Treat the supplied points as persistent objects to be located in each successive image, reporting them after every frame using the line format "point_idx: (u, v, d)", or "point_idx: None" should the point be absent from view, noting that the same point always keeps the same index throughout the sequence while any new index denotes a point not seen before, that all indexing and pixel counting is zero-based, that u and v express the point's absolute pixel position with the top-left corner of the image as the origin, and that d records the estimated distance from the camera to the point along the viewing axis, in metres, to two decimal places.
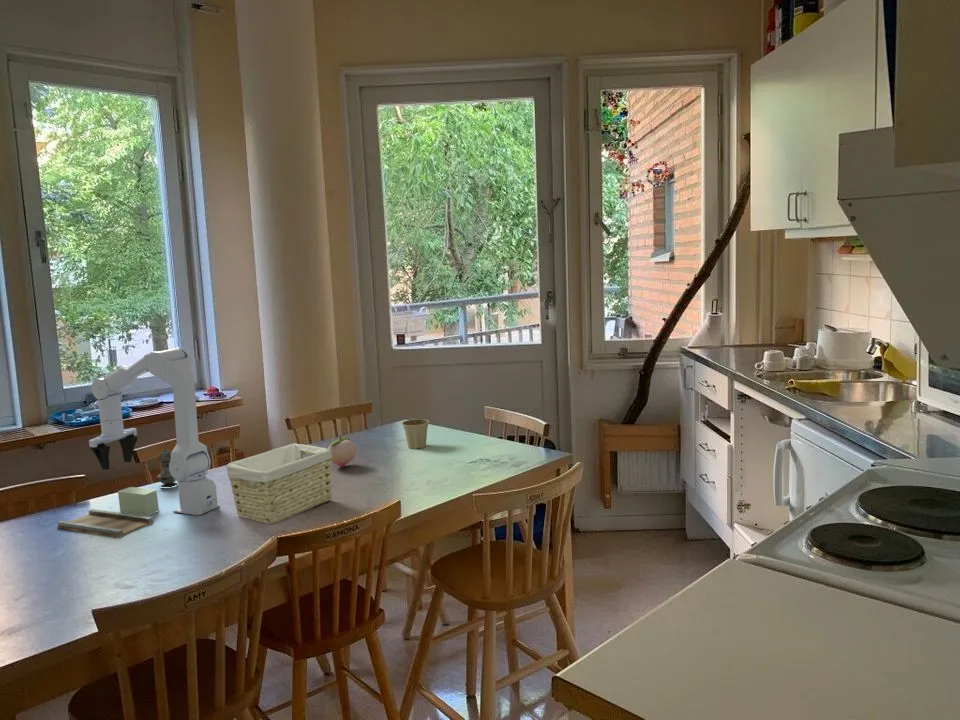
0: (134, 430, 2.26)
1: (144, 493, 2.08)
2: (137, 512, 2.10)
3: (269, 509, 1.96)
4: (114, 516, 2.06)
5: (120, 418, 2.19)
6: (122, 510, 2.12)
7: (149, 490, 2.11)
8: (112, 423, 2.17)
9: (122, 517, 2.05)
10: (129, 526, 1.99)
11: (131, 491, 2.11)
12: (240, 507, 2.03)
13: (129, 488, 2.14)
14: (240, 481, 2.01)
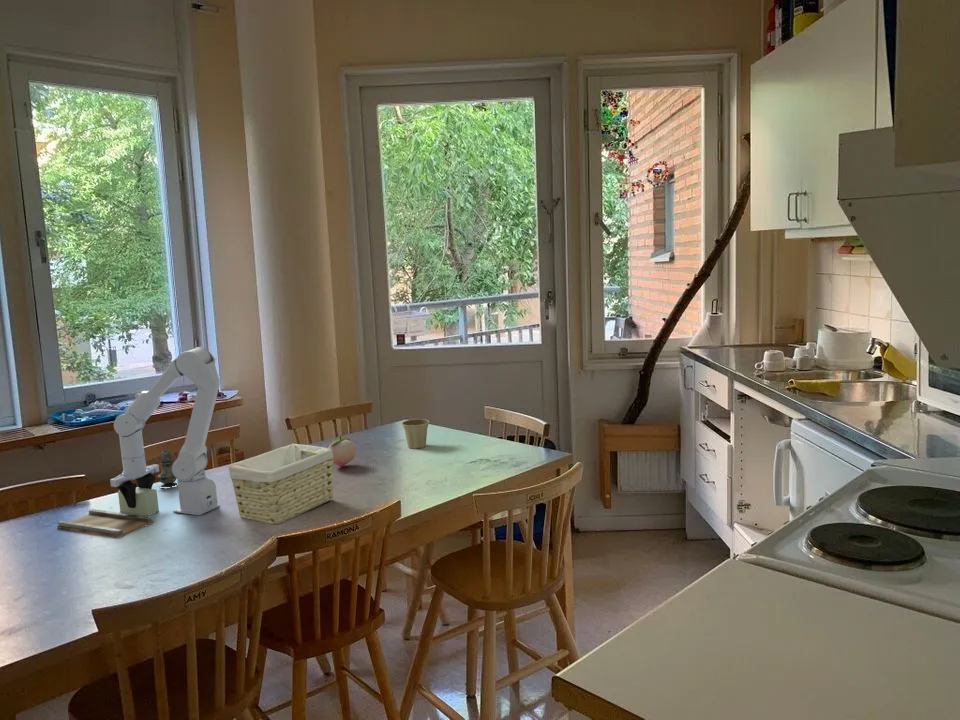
0: (156, 467, 2.16)
1: (144, 492, 2.08)
2: (137, 511, 2.10)
3: (274, 509, 1.95)
4: (114, 516, 2.06)
5: (142, 455, 2.09)
6: (122, 509, 2.12)
7: (149, 489, 2.11)
8: (134, 461, 2.07)
9: (122, 517, 2.05)
10: (129, 526, 1.99)
11: None
12: (243, 508, 2.02)
13: None
14: (243, 482, 2.00)
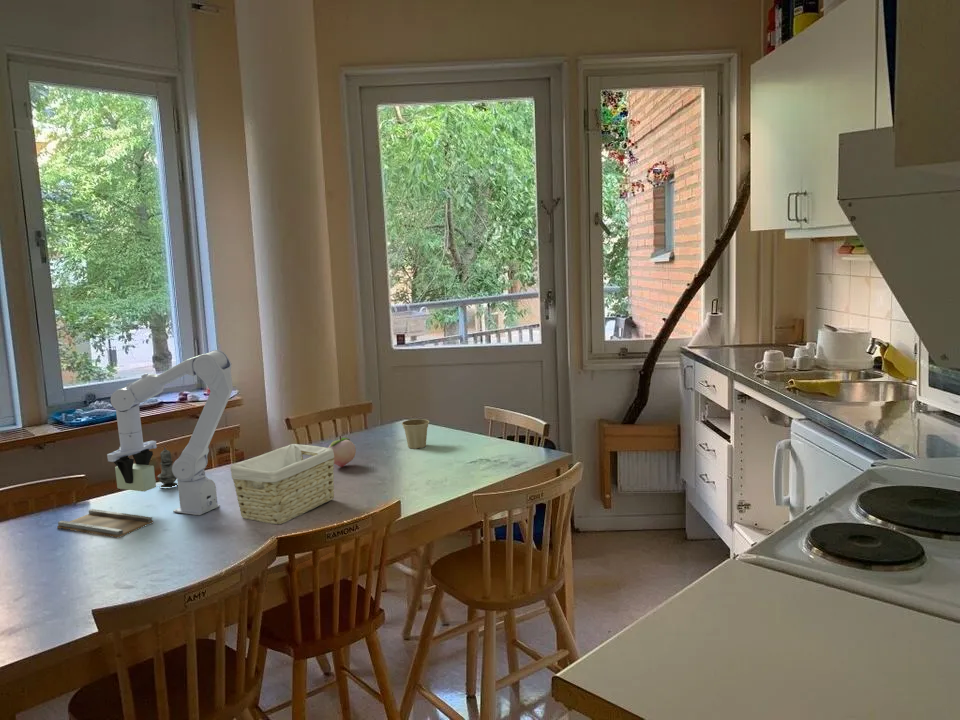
0: (154, 443, 2.15)
1: (141, 468, 2.08)
2: (134, 488, 2.09)
3: (277, 509, 1.95)
4: (114, 516, 2.06)
5: (139, 431, 2.08)
6: (119, 486, 2.11)
7: (146, 466, 2.10)
8: (131, 436, 2.06)
9: (122, 517, 2.05)
10: (129, 526, 1.99)
11: None
12: (244, 509, 2.02)
13: None
14: (245, 482, 2.00)
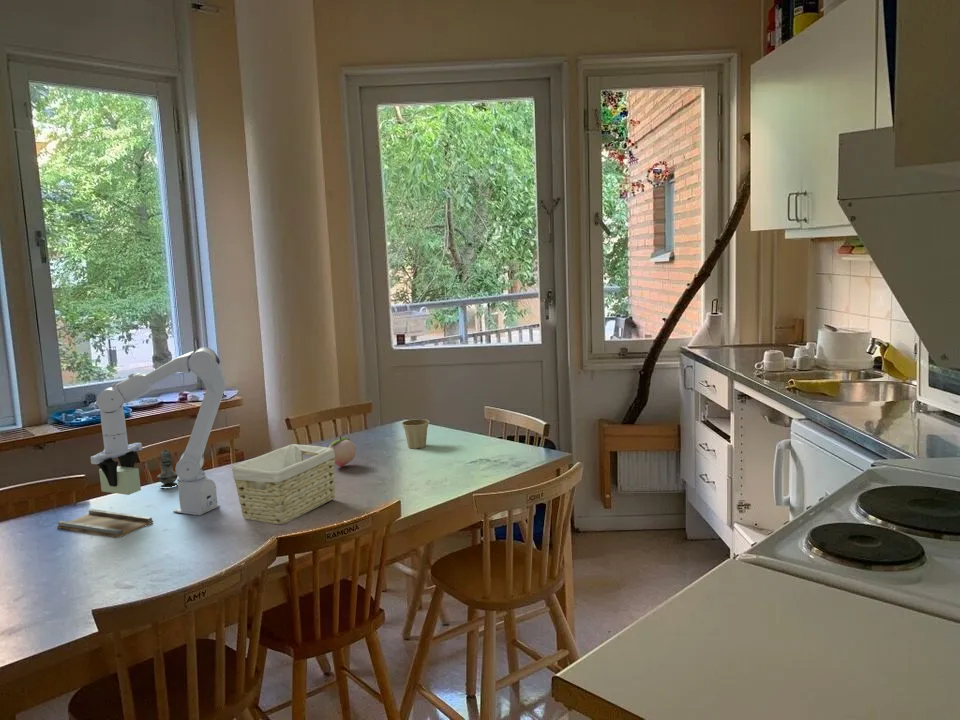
0: (139, 445, 2.10)
1: (125, 471, 2.03)
2: (118, 491, 2.04)
3: (280, 509, 1.95)
4: (114, 516, 2.06)
5: (124, 433, 2.04)
6: (103, 489, 2.06)
7: (131, 468, 2.05)
8: (115, 438, 2.02)
9: (122, 517, 2.05)
10: (129, 526, 1.99)
11: None
12: (246, 509, 2.01)
13: None
14: (247, 482, 1.99)
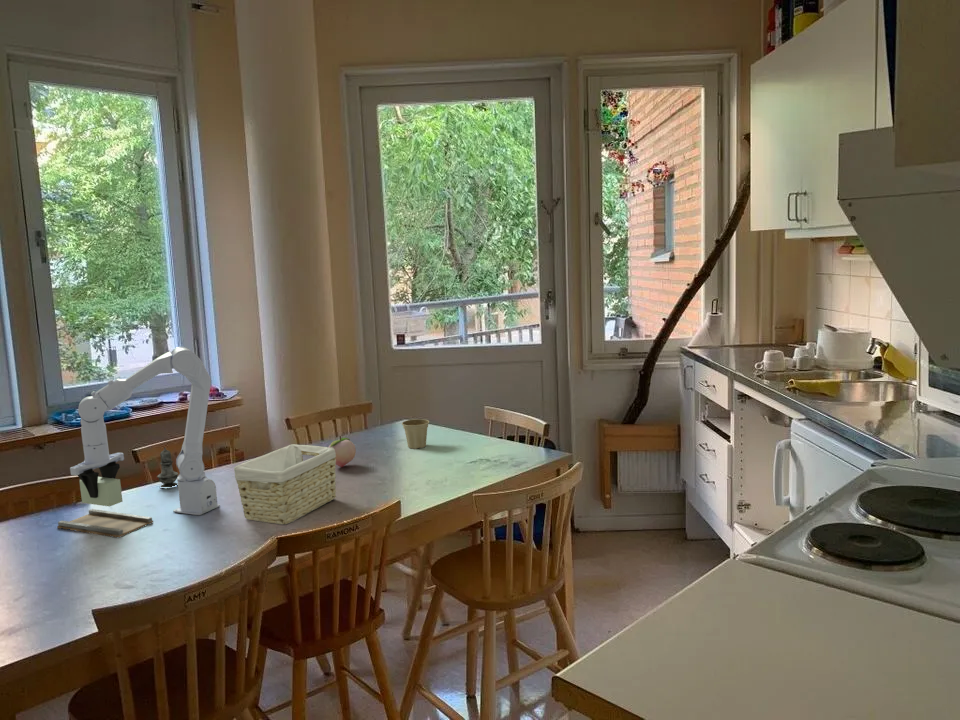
0: (121, 455, 2.05)
1: (106, 482, 1.98)
2: (99, 502, 1.99)
3: (283, 509, 1.95)
4: (114, 516, 2.06)
5: (105, 443, 1.99)
6: (84, 500, 2.01)
7: (112, 479, 2.00)
8: (96, 448, 1.97)
9: (122, 517, 2.05)
10: (129, 526, 1.99)
11: None
12: (248, 510, 2.01)
13: None
14: (249, 483, 1.99)
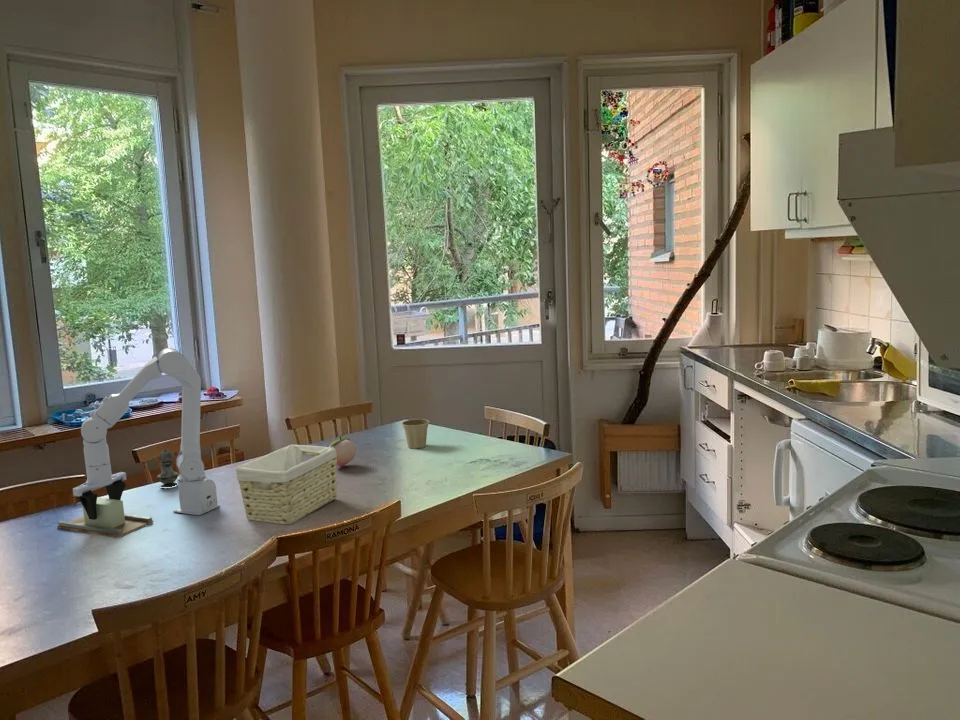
0: (123, 475, 2.06)
1: (109, 504, 1.99)
2: (102, 524, 2.00)
3: (287, 509, 1.95)
4: None
5: (107, 463, 1.99)
6: (87, 521, 2.02)
7: (115, 500, 2.01)
8: (99, 469, 1.97)
9: None
10: (129, 526, 1.99)
11: None
12: (250, 510, 2.00)
13: None
14: (252, 483, 1.98)
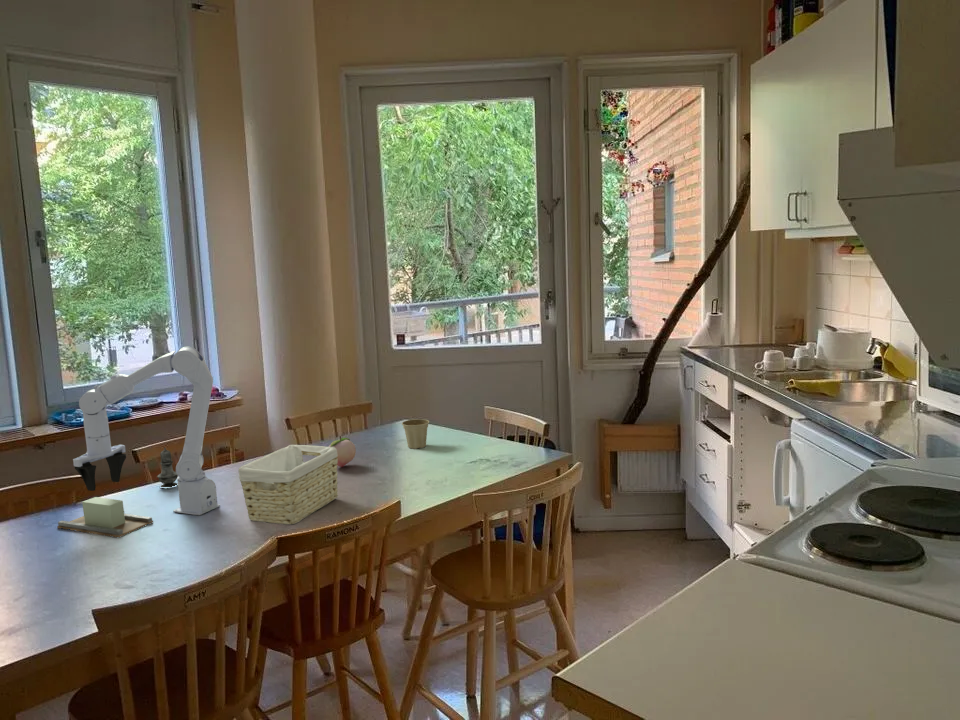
0: (122, 447, 2.09)
1: (109, 504, 1.99)
2: (102, 524, 2.00)
3: (291, 509, 1.95)
4: None
5: (107, 435, 2.02)
6: (87, 521, 2.02)
7: (115, 500, 2.01)
8: (98, 440, 2.00)
9: None
10: (129, 526, 1.99)
11: (96, 501, 2.01)
12: (253, 511, 2.00)
13: (94, 498, 2.04)
14: (254, 484, 1.98)
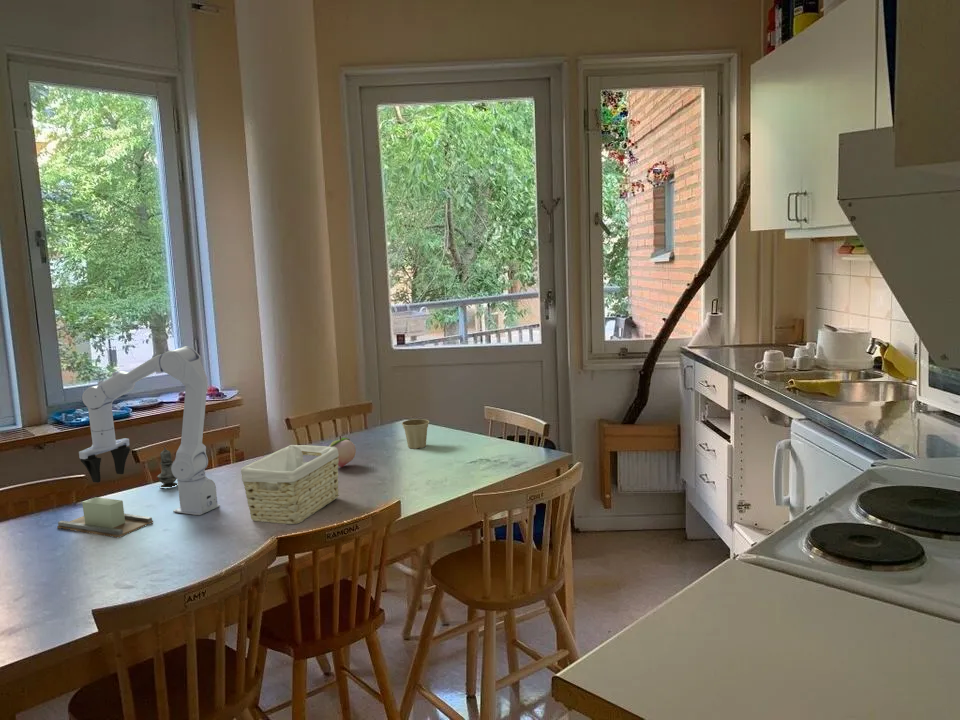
0: (127, 440, 2.16)
1: (109, 504, 1.99)
2: (102, 524, 2.00)
3: (294, 509, 1.95)
4: None
5: (112, 428, 2.10)
6: (87, 521, 2.02)
7: (115, 500, 2.01)
8: (103, 434, 2.08)
9: None
10: (129, 526, 1.99)
11: (96, 501, 2.01)
12: (255, 511, 1.99)
13: (94, 498, 2.04)
14: (257, 484, 1.97)
